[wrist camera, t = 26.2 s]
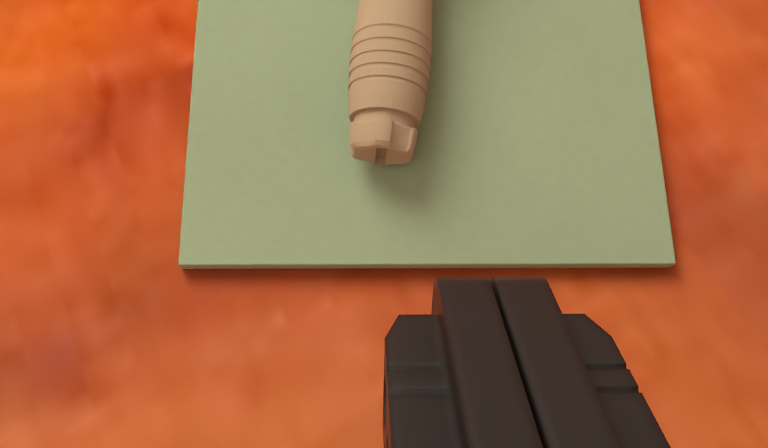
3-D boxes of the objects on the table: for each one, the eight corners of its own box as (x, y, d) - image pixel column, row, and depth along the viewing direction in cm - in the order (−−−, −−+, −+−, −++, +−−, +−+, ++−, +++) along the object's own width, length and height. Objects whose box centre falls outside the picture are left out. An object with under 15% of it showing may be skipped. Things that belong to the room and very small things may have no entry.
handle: (455, 146, 32) (475, -137, 35) (310, 131, 31) (346, -151, 35) (441, 179, 36) (460, -74, 40) (316, 167, 36) (347, -86, 40)
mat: (623, -67, 41) (628, -77, 41) (669, 268, 35) (676, 264, 35) (207, -75, 40) (204, -85, 40) (181, 269, 34) (177, 265, 34)
